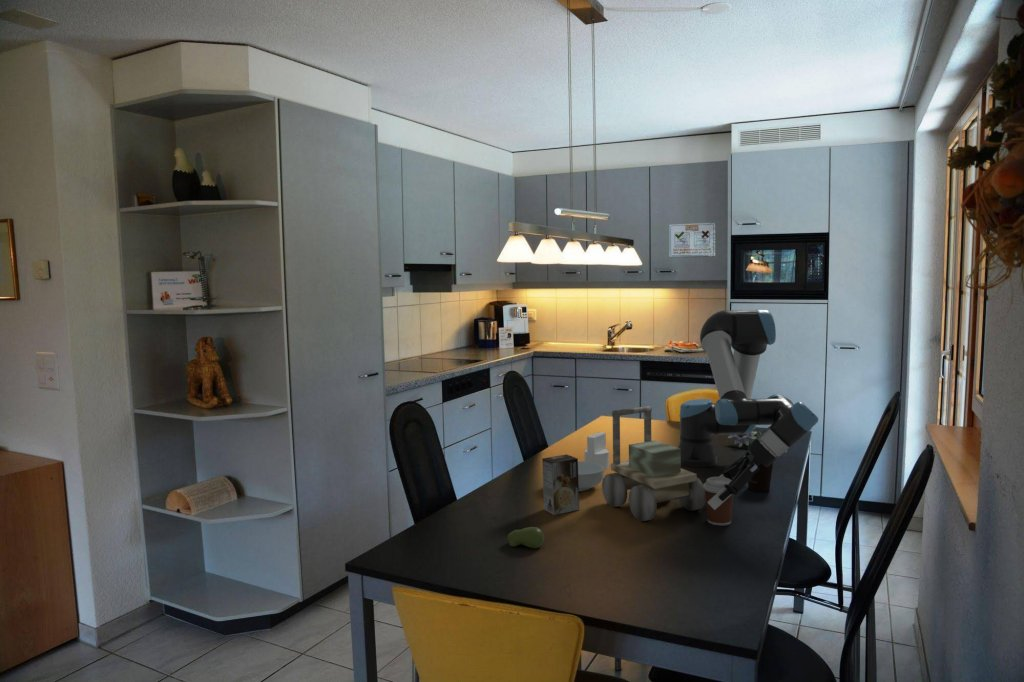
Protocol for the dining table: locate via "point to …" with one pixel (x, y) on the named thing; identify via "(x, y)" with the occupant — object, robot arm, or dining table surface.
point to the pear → (526, 537)
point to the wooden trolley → (649, 473)
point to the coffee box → (560, 484)
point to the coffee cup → (725, 509)
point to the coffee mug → (761, 479)
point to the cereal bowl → (589, 475)
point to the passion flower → (744, 438)
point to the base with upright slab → (597, 450)
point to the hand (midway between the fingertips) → (709, 499)
